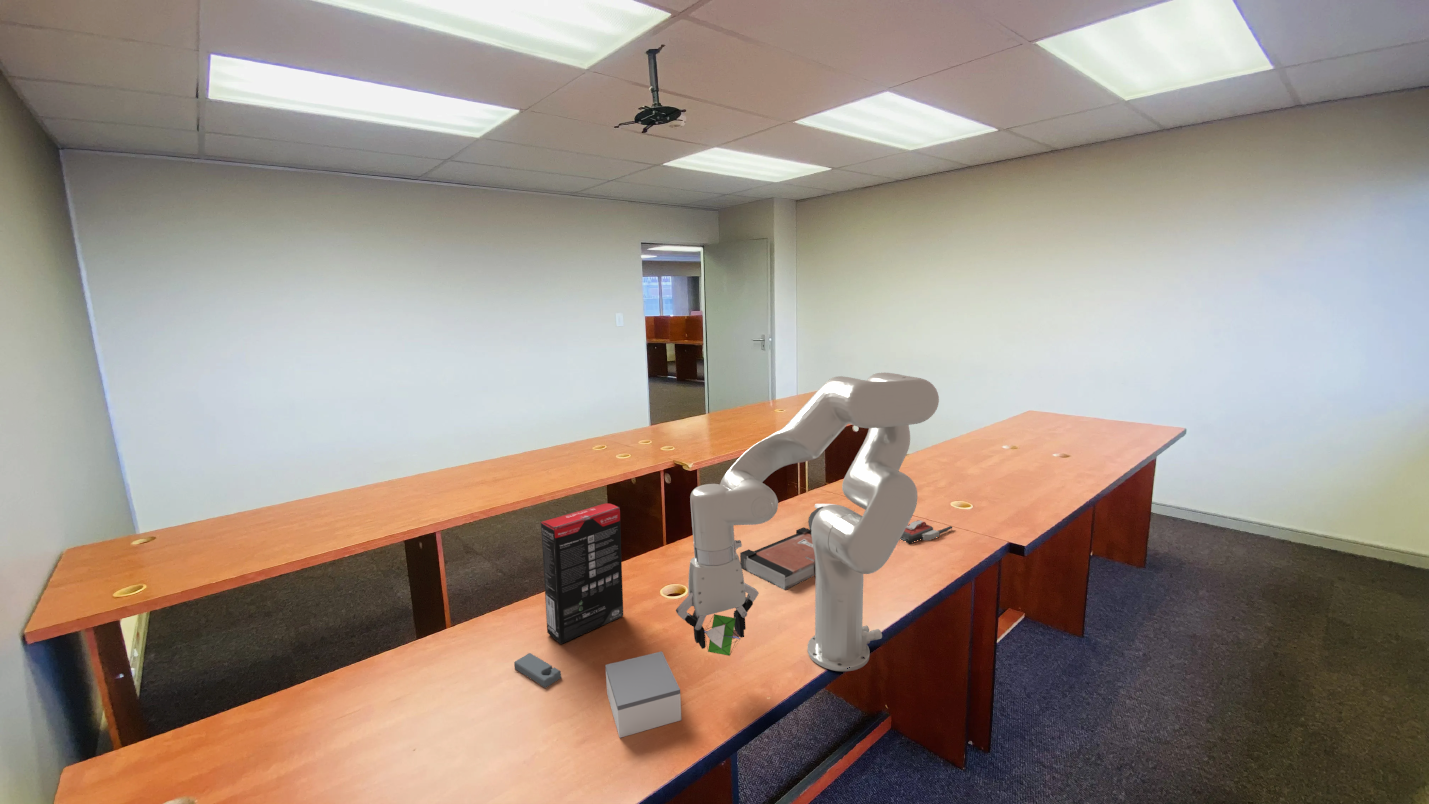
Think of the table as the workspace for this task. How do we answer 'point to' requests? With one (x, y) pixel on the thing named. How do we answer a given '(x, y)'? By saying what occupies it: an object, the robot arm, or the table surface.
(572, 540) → the graphics card box
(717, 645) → the geometric puzzle
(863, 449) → the robot arm
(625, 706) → the grey stand
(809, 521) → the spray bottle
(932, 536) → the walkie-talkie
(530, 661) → the bracket
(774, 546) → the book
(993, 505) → the table surface
